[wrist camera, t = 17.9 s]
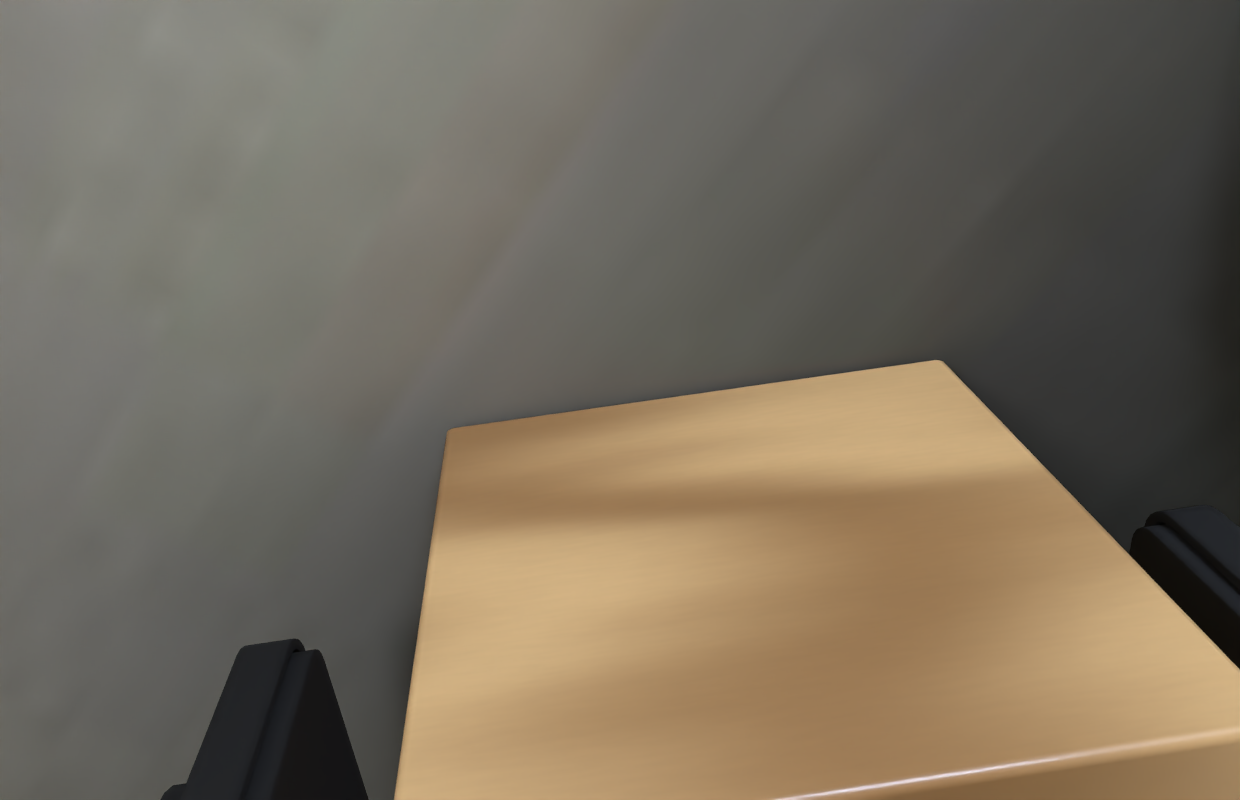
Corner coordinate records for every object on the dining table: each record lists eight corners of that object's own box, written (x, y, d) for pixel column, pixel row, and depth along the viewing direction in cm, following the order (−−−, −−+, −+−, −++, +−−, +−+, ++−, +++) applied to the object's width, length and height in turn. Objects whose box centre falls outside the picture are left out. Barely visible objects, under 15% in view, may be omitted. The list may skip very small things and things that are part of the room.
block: (524, 786, 13) (526, 1311, 8) (444, 426, 11) (379, 867, 6) (926, 724, 13) (1168, 1203, 8) (942, 356, 11) (1300, 724, 6)
